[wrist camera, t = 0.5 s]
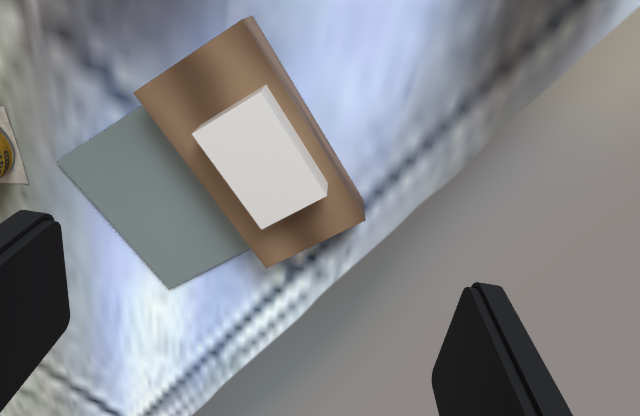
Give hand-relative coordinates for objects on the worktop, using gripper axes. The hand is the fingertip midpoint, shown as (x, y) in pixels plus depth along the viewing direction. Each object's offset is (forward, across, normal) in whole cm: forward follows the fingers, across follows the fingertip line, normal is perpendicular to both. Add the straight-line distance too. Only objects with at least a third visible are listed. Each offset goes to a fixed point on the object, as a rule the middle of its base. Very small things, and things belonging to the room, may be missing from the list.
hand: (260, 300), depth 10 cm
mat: (+29, +12, +14) cm, 34 cm away
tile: (+25, +3, +6) cm, 26 cm away
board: (+29, +4, +6) cm, 30 cm away
